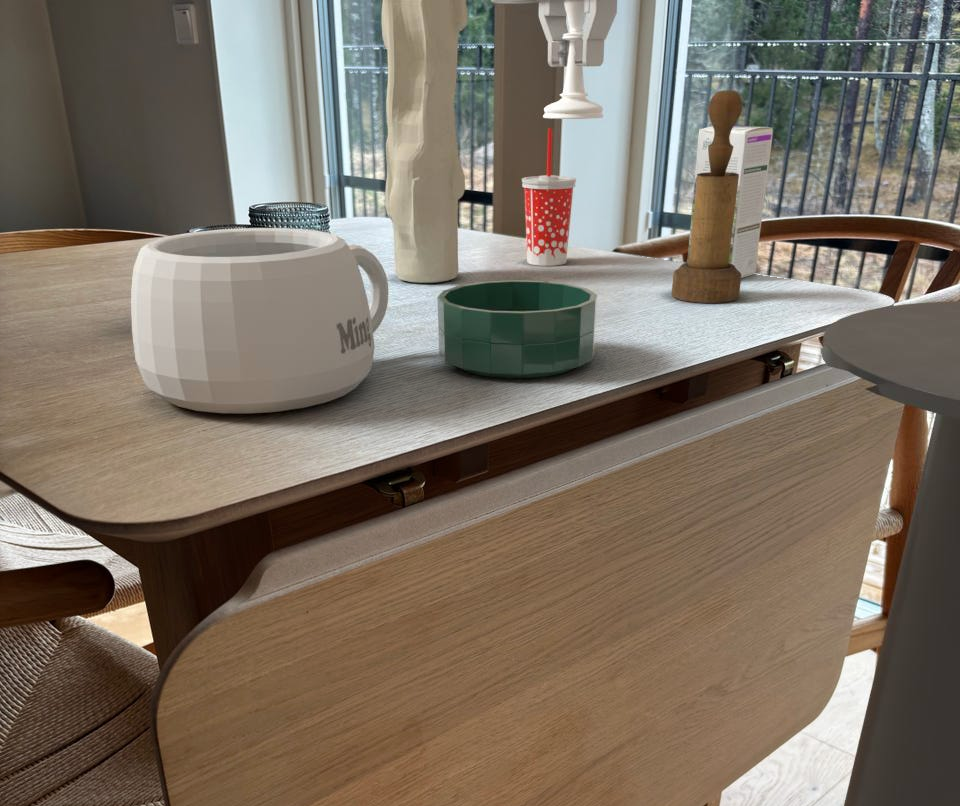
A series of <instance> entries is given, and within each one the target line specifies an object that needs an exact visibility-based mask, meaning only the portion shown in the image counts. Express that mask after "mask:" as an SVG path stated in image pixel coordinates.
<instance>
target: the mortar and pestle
mask: <svg viewBox="0 0 960 806" xmlns="http://www.w3.org/2000/svg"><path fill="white" fill-rule="evenodd" d="M742 111H743V101H742V97H741V95H740V94H739V93H738V92H737V91H736V90H735V89H734V90H730V89H728V90H727V89H726V90H719V91H717V92H716V93H714V94H713V95H712V97H711V99H710V100H709V103H708V108H707V113H708V117H709V120H710V122H711V126H713V128H714V139H713V142H712V144H711V145H709V146H708V155H709V163H710V171H711V172H707V173H700V174H697V181H696V193H695V204H694V214H693V224H692V233H691V242H690V251H689V260H688V259H687V260H688V263H687V262H685V263H682V264H681V265H680V266H679V267H677V269H675V270H674V271H673V276H672V285H671V292H670V293H671V296H672V297H673V298H674V299H676V300H679V301H682V302H683V301H684V302H690V303H700V304H701V303H702V304H718V303H719V304H720V303H729V302H734V301H736V300H738V299H739V297H740V293H741V292H740V291H741V282H742V278H741V273H740V272H739V271H738V270H737V269H736V267H735V266H734V265H733V264H730V263H729V256H730V247H731V238H732V229H733V220H734V212H735V204H736V195H737V187H738V179H739V174H737V173H732V172H731V173H728V172H726V169H727V166H728V164H729V161H730V158H731V155H732V151H733V145H731V144H730V139H729V137H730V133H731V130H732V128H733V127H734V126H736V123H737V122H738V120H739V118H740V116H741V114H742Z"/></svg>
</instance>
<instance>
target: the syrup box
mask: <svg viewBox="0 0 960 806" xmlns="http://www.w3.org/2000/svg"><path fill="white" fill-rule="evenodd" d="M698 130H699V131H698V136H697V147H696V148H697V149H696V160H695V172H694V173H695V174H694V182H693V192H692V193H693V195H692V202H691V203H692V205H691V216H690V228H689V237H688V238H689V239H688V241H689V242H688V251H687V261H686V263H688V260H689V251H690V242H691V233H692V224H693V214H694V204H695V193H696V181H697V174H700V173H707V172H711V171H710V163H709V155H708V146H709V145H711V144H712V142H713V139H714V128H713V125H711V126H707V127H704V128H699V129H698ZM773 134H774V129H773V127H769V126H752V125H751V126H747V125H746V126H744V125H743V126H742V125H734V127H733V128H732V130H731V133H730V137H729V139H730V144H731V145H733V151H732V155H731V158H730V161H729V164H728V166H727V169H726V172H728V173H731V172H732V173H737V174H739V179H738V187H737V195H736V204H735V212H734V220H733V229H732V238H731V247H730V256H729V263H730V264H733V265H734V266H735V267H736V269H737V270H738V271H739V272H740V273H741V279H742V278H746V277H749V276H753V275H756V272H757V265H758V255H759V243H760V235H761V228H762V220H763V213H764V205H765V204H764V203H765V196H766V189H767V181H768V175H769V174H768V173H769V169H770V168H769V166H770V159H771V152H772V143H773Z"/></svg>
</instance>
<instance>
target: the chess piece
mask: <svg viewBox="0 0 960 806" xmlns="http://www.w3.org/2000/svg"><path fill="white" fill-rule="evenodd" d="M584 3H585V0H565V1H564V6H565V10H566V13H567V16H566V18H567V22H568V26H569V29H568V33H566V34H563V36H564V37H562V39H564V40H569V41H570V45H569V54H568V63H567V67H566V70H565V77H564V85H563V90H562V93H560V94H559V96H560V97H561V98H560V99H559V100H558V101H554V102H552V103H549V104H548V105H546V106H545V107H544V108H543V111H544V114H543V115H542V118H543V119H551V120H589V119H603V118H604V114H603V110H604V108H603V106H602V105H600V104H598V103H596V102H593V101H590V100H589V99H588V98H586V97H588V96H589V94H588V93H587V92H586V91H585V90H586V89H585V83H584V70H583V69H584V66H577V65H576V64H575V55H576V52H575V40H582V37H583V33H584V29H583V28H584V25H585V22H586V17H587V14H588V13H585V12H584Z"/></svg>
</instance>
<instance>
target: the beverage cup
mask: <svg viewBox="0 0 960 806" xmlns="http://www.w3.org/2000/svg"><path fill="white" fill-rule="evenodd" d="M546 153H547V154H546V155H547V156H546V157H547V158H546V160H547V161H546V174H545V175H537V176H536V175H534V176H527V177H522V178H521V183H522V184H521V186H522V188H523V189H524V191H523V194H524V215H525V241H526V243H525V244H526V262H527V264H529V265H532V266H540V267H541V266H543V267H544V266H545V267H549V266H561V265H565V264H567V257H568V247H569V236H570V226H571V215H572V205H573V195H574V188H575V187H576V182H577V178H576V177H573V176H562V175H555V174H554V175H553V174H552V156H553V154H552V153H553V128H547V152H546Z"/></svg>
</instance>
